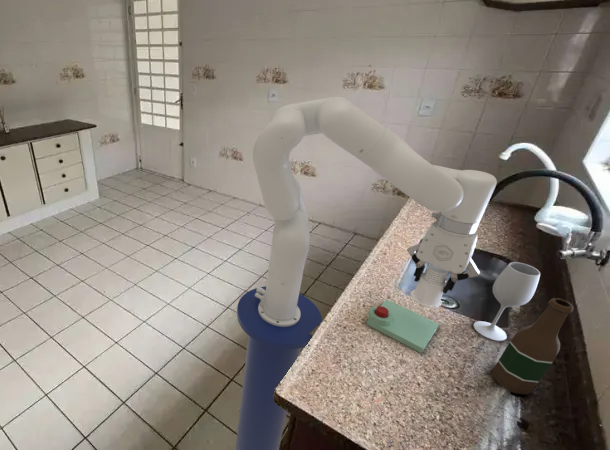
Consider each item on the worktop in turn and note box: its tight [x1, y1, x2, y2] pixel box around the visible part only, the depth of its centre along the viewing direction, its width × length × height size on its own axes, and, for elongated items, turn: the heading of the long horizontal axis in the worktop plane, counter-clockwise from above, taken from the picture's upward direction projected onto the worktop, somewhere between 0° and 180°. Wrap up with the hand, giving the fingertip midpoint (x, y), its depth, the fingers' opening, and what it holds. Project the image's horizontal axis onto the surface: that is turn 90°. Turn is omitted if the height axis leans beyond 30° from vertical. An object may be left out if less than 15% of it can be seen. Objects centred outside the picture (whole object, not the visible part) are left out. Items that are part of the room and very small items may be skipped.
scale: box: [366, 298, 440, 354], centre depth 97 cm, size 15×13×4 cm
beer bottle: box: [491, 297, 575, 395], centre depth 77 cm, size 8×8×24 cm
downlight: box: [410, 263, 450, 309], centre depth 90 cm, size 8×7×10 cm
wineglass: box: [473, 261, 541, 342], centre depth 91 cm, size 8×8×21 cm
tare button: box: [375, 305, 389, 318], centre depth 97 cm, size 3×3×2 cm
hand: (431, 284), depth 90 cm, fingers closed on downlight, 5 cm apart
